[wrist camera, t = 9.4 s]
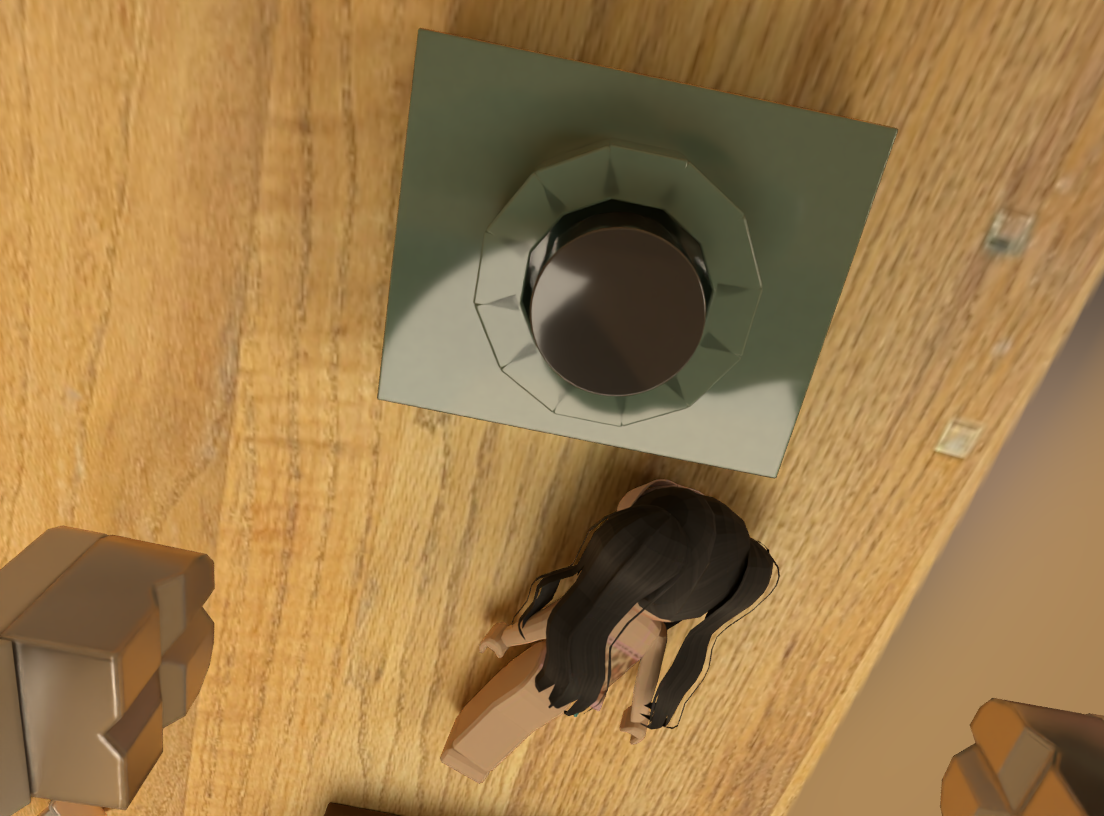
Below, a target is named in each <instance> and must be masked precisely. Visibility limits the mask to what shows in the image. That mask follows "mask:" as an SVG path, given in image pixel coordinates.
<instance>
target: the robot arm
mask: <svg viewBox="0 0 1104 816" xmlns="http://www.w3.org/2000/svg"><path fill="white" fill-rule="evenodd" d="M214 589H215V583H214V561H213V560H212V559H211V558H210V557H209V556H208V555H207V554H204V553H199V552H194V551H189V550H184V549H179V548H174V547H170V546H165V545H160V544H155V543H150V542H145V541H140V540H136V539H131V538H126V537H121V536H116V535H110V536H109V535H107V534H104V533H98V532H93V531H88V530H83V529H78V528H73V527H68V526H59V527H55V528H51V529H48V530H46V531H45V532H44V533H43V534H41V535H40V536H39V537H38V538H37V539H36V540H34V541H33V542H32V543H31V544H30V545H29V546H27V547H26V548H25V549H24V550H23V551H22V552H20V553H19V554H18V555H17V556H16V557H14V558H13V559H12V560H11V561H10V562H9V563H7V564H6V565H5V566H4V567H3V568H2V569H0V816H11V815H13V814H14V813H16V812H17V811H19V810H20V809H22V808H23V807H25V806H26V805H28V804H29V803H30V802H31V797H37V798H44V799H51V800H58V801H65V802H72V803H79V804H86V805H93V806H100V807H107V808H114V809H121V810H126V809H127V808H128V806H129V805H130V803H131V801H132V800H133V798H134V797H135V795H136V794H137V792H138V790H139V789H140V787H141V786H142V784H143V783H144V781H145V779H146V778H147V776H148V775H149V773H150V771H151V770H152V768H153V767H154V765H155V764H156V762H157V760H158V759H159V757H160V756H161V754H162V752H163V728H164V727H166V726H168V725H170V724H171V723H173V722H175V721H177V720H179V719H180V718H182V717H184V716H186V714H187V712H188V711H189V709H190V707H191V706H192V704H193V702H194V701H195V699H196V697H197V696H198V694H199V692H200V689H201V686H202V684H203V681H204V679H205V676H206V673H207V671H208V668H209V665H210V661H211V655H212V650H213V644H214V622H213V621H212V619H211V618H210V617H209V615H208V614H207V613H206V611H205V610H204V608H203V607H202V606H203V604H204V603H205V601H206V600H207V599H208V597H209V596H210V594H211V593H212V591H213V590H214ZM970 727H971V731H972V733H973V736H974V740H975V744H973V745H971V746H970V747H968V748H966V749H965V750H963V751H961V752H959V753H958V754H956V755H954V756H953V758H952V759H951V762H950V764H949V766H948V768H947V770H946V772H945V775H944V777H943V779H942V787H941V802H940V808H941V813H942V816H1104V716H1102V715H1096V714H1090V713H1089V714H1081V713H1076V712H1070V711H1064V710H1059V709H1053V708H1048V707H1042V706H1036V705H1030V704H1025V703H1019V702H1013V701H1007V700H1002V699H997V698H992V699H990V700H989V701H988V702H986V703H985V704H984V705H982V706H981V707H980V708H979V709H978V711H977V713H976V715H975V717H974V719H973V720H972V722H971V724H970Z"/></svg>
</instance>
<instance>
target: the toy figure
mask: <svg viewBox="0 0 1104 816" xmlns="http://www.w3.org/2000/svg"><path fill="white" fill-rule="evenodd" d="M648 487H653V488H650V489H647V488H648ZM646 489H647V490H646ZM607 518H608V519H607ZM605 519H607V520H606V521H605V522H604V523H603V524H602V525H601V526H600V527H599V528H598V529H597V530H596V531H595V533H594V534H593V536H592V538H591V540H590V542H589V544H588V545H587V547H586V549H585V551H584V553H583V555H582V557H581V558H580V560H579V562H578V564H577V565H574V566H572V565H573V564H574V562H575V560H576V558H577V556H578V554H579V552H580V550H581V548H582V546H581V548H580V550H579V552H578V554H577V556H576V558H575V560H574V562H573V563H572V564H571V565H570V566H568V567H566V568H563V569H559V570H556V571H552V572H550V573H547V574H544V575H541V576H539V577H538V578H536V580H535V581H537V580H538V579H540V578H543V577H544V578H543V579H542V580H541V581H540V582H539V584H538V585H537V588H536V592H535V596H534V600H533V602H532V603H531V605H530V606H529V607H528V608H527V610H526V611H525V612H524V614H523V615H522V616H521V617H520V619H519V621H518V622H516V623H514V624H512V625H510V626H509V625H508V624H506V623H504V622H499V623H496V624H495V625H494V626H493V627H492V628H491V630H490V631H489V632H488V634H487V635H486V636H485V637H484V639H483V640H482V641H481V643H480V645H479V650H480V653H483V652H484V651H485V650H486V648H487V647H489V648H490V649H491V650H493V651H494V652H496V655H497V656H498V657H499V658H501V657H502V656H503V655H504V653H505V652H506V651H507V649H508V648H509V647H510V646H516V645H521V644H527V643H530V642H534V641H538V640H542V639H546V641H540V642H537V643H536V644H534V645H533V646H532V647H530V648H529V649H527V650H526V651H525V652H523V653H522V654H520V655H519V656H518V657H516V658H515V659H513V660H512V661H511V662H509V663H508V665H507V666H506V667H503V668H502V669H501V670H500V671H499V672H498V673H497V674H496V675H495V676H494V677H493V678H492V679H491V680H490V681H489V682H488V683H487V684H486V685H485V686H484V687H483V688H482V689H481V690H480V691H479V692H478V693H477V694H476V695H475V696H474V697H473V698H472V699H471V700H470V701H469V702H468V703H467V704H466V705H465V706H464V708H463V710H462V711H461V712H460V714H459V715H458V716H457V718H456V720H455V722H454V725H453V727H452V730H451V732H450V734H449V737H448V739H447V742H446V744H445V747H444V749H443V752H442V754H441V757H440V760H441V762H442V763H444V764H446V765H447V766H449V767H451V768H453V769H454V770H456V771H458V772H460V773H461V774H463V775H465V776H467V777H468V778H470V779H472V780H474V781H475V782H477V783H479V784H480V783H483V781H484V780H485V779H486V777H487V776H488V775H489V772H490V771H492V770H493V769H494V768H496V767H497V766H498V765H499V764H500V763H501V762H502V761H503V760H504V759H505V758H506V757H507V756H508V755H509V754H510V753H511V752H512V751H513V750H514V749H515V748H517V747H518V746H519V745H520V744H521V743H522V742H523V741H524V740H525V739H526V738H527V737H528V736H529V735H530V734H531V733H532V732H534V731H535V730H537V729H539V728H540V727H542V726H543V725H545V724H547V723H548V722H550V721H552V720H553V719H555V718H556V717H558V716H560V715H561V714H562V713H563V712H564V714H566V715H568V716H571V715H574V717H577V715H578V714H579V713H580V712H583V711H584V710H585V709H587V708H588V707H589V706H590V707H592V708H591V709H595V710H597V711H600V709H601V706H602V704H603V701H604V699H605V697H606V692H607V691H608V687H609V686H610V685H612V684H613V683H614V682H615V681H616V680H617V679H619V678H620V677H621V676H622V675H623V674H624V673H625V672H627V671H628V670H629V669H630V668H631V667H632V666H633V665H634V664H636V663H637V662H638V661H639V660H640V663H639V668H638V673H637V677H636V682H635V687H634V692H633V701H632V706H630V707H628V708H627V709H626V710H625V711H624V712H623V716H622V720H621V724H620V731H623V732H627V733H630V734H631V739H630V743H631V744H637V743H639V742H640V741H642V740H643V739H644V737H645V735H646V730H647V728H649V729H658V728H661V727H662V726H663V727H664V726H666V725H667V724H668V723H669V721H670V719H671V718H672V716H673V714H674V712H675V710H676V709H677V707H678V705H679V703H680V701H681V700H682V698H683V696H684V695H685V693H686V692H687V691H688V690H689V689H690V688H691V686H692V685H693V684H694V683H695V682H696V680H697V678H698V676H699V674H700V673H701V671H702V668H703V665H704V661H705V657H706V652H707V646H708V644H709V641H710V638H711V635H712V634H713V633H714V632H715V631H716V630H717V629H718V628H720V627H721V626H722V625H723V624H724V623H726V622H727V621H729V620H730V619H732V618H733V617H735V616H736V615H738V614H739V613H740V612H742V611H743V610H745V609H746V608H748V607H749V606H751V605H752V604H753V603H754V602H755V601H756V600H757V599H758V598H759V597H760V596H761V595H762V594H763V593H764V591H765V590H766V588H767V586H768V584H769V582H770V578H771V575H772V568H773V562H774V563H775V565H776V566H777V569H778V580H779V577H780V574H779V567H778V565H777V564H776V562H775V561H774V559H773V558H772V557H771V555H770V554H769V549H767V550H766V549H765V548H764V547H763V546H761V545H760V544H759V543H761V542H759V541H756V540H754V539H752V538H750V536H749V533H748V531H747V528H746V526H745V523H744V521H743V520H742V519H741V518H740V517H739V516H738V515H736V514H735V513H734V512H733V511H732V510H731V509H730V508H728V507H727V506H726V505H725V504H723V503H722V502H720V501H718V500H717V499H715V498H713V497H709V496H706V495H704V494H702V493H701V492H699V491H697V490H695V489H692V488H686V487H684V486H681V485H678V484H676V483H674V482H672V481H670V480H665V479H659V480H654V481H652V482H649V483H647V484H645V485H642V486H640V487H637V488H634V489H633V490H631V491H629V492H628V493H627V494H626V495H625V496H624V497H623V498H622V499H621V501H620V503H619V505H618V508H617V512H614V513H612V514H610V515H608V516H606V517H604V518H603V519H602V520H600V521H599V522H598V523H597V524H595V525H594V526H593V527H592V528H591V529H590V530H589V531H588V533H589V532H590V531H591V530H592V529H594V528H595V527H596V526H597V525H599V524H600V523H601V522H602V521H604V520H605ZM588 533H587V535H588ZM587 535H586V537H587ZM586 537H585V539H586ZM585 539H584V541H585ZM584 541H583V543H584ZM758 542H759V543H758ZM582 545H583V544H582ZM581 570H582V571H581ZM580 571H581V573H580V575H579V577H578V579H577V580H576V582H575V583H574V584H573V586H572V587H571V588H570V589H569V590H568V591H567V593H566V594H565V595H564V596H562V597H561V598H560V599H558V600H557V601H555V602H554V603H552V604H551V605H549V606H548V607H546V608H545V609H542V608H543V607H544V606H545V605H547V604H548V603H549V602H550V601H551V600H552V599H553V596H554V594H555V592H556V590H557V588H558V585H559V582H560V580H561V579H564V578H568V577H571V576H573V575H575V574H576V573H577V572H578V574H579V572H580ZM577 576H578V575H577ZM778 580H777V583H778ZM535 581H534V582H535ZM534 582H533V583H532V585H533V584H534ZM777 583H776V586H777ZM532 585H531V587H532ZM776 586H775V587H776ZM541 587H542V589H541V592H540V595H539V596H538V597H537V595H538V592H539V589H540V588H541ZM775 587H774V589H775ZM774 589H773V590H774ZM773 590H772V591H773ZM530 591H531V588H530ZM772 591H771V593H772ZM771 593H770V594H771ZM529 594H530V592H529ZM770 594H769V595H770ZM769 595H768V596H769ZM768 596H767V597H768ZM528 597H529V595H528ZM767 597H766V598H767ZM536 598H537V599H536ZM766 598H765V599H766ZM765 599H764V600H765ZM527 601H528V599H527ZM527 601H526V602H527ZM526 602H525V603H524V605H525V604H526ZM760 603H761V602H760ZM760 603H759V604H760ZM759 604H758V605H759ZM524 605H523V606H524ZM758 605H757V606H758ZM523 606H522V607H523ZM757 606H756V607H757ZM522 607H521V609H522ZM756 607H755V608H756ZM755 608H754V609H755ZM521 609H520V610H521ZM541 609H542V610H541ZM754 609H753V610H754ZM520 610H519V611H520ZM753 610H752V611H753ZM519 611H518V612H519ZM518 612H517V614H518ZM706 612H708V613H707V614H706V617H705V620H703V621H702V622H701V623H700V624H698V625H697V626H696V627H694V628H693V629H692V630H690V632H689V633H688V635H687V636H686V638H685V640H684V642H683V644H682V646H681V648H680V650H679V652H678V654H677V656H676V658H675V660H674V662H673V664H672V666H671V668H670V669H669V671H668V672H667V674H666V675H665V677H664V678H663V680H662V681H661V683H660V684H659V687H658V689H657V692H656V694H655V697H654V700H653V703H651V701H652V698H653V695H654V691H655V688H656V685H657V682H658V678H659V674H660V669H661V665H662V661H663V656H664V652H665V648H666V643H667V629H669V628H671V627H672V626H674V625H676V624H678V623H679V622H680V621H682V620H686V619H692V618H698V617H701V616H702V615H704V614H705V613H706ZM750 612H751V611H750ZM750 612H749V613H750ZM517 614H516V615H517ZM747 614H748V613H747ZM747 614H746V615H747ZM516 615H515V616H516ZM515 616H514V617H515ZM744 616H745V615H744ZM744 616H743V617H744ZM741 618H742V617H741ZM741 618H740V619H741ZM740 619H738V620H740ZM513 620H514V618H513ZM738 620H737V621H738ZM737 621H735V622H737ZM512 622H513V621H512ZM735 622H734V623H735ZM734 623H732V624H734ZM732 624H731V625H732ZM731 625H729V626H731ZM729 626H728V627H729ZM728 627H727V628H728ZM727 628H726V629H727ZM726 629H724V630H726ZM724 630H723V631H724ZM723 631H722V632H723ZM722 632H721V633H722ZM721 633H720V634H721ZM720 634H719V635H720ZM719 635H718V636H719ZM718 636H717V637H718ZM717 637H716V639H717ZM715 642H716V640H715ZM715 642H714V644H715ZM714 644H713V646H714ZM712 649H713V647H712ZM711 655H712V650H711ZM710 661H711V656H710ZM709 667H710V662H709ZM708 669H709V668H708ZM707 671H708V670H707ZM706 674H707V672H706ZM706 674H705V676H706ZM705 676H704V678H705ZM704 678H703V680H704ZM703 680H702V681H703ZM702 681H701V682H702ZM700 684H701V683H700ZM700 684H699V685H700ZM699 685H698V686H699ZM697 688H698V687H697ZM697 688H696V689H697ZM696 689H695V690H696ZM695 690H694V692H695ZM694 692H693V693H694ZM693 693H692V694H693ZM658 694H659V695H658ZM692 694H691V696H692ZM657 696H658V699H657V702H656V703H655V701H656V698H657ZM691 696H690V697H691ZM690 697H689V698H690ZM689 698H688V700H689ZM577 699H578V700H577ZM575 700H577V701H576V702H575V703H574V705H573V706H572V707H571V708H570V709H569V710H568V711H565V710H566V709H567V708H568V707H569V705H570V704H571V702H573V701H575ZM688 700H687V701H688ZM687 701H686V702H687ZM686 702H685V703H686ZM684 707H685V704H684ZM684 707H683V710H684ZM649 708H650V709H651V712H649ZM591 709H590V710H591ZM683 710H682V713H683ZM587 712H588V711H587ZM653 712H654V713H653ZM682 713H681V716H682ZM667 715H668V716H667ZM681 716H680V719H681ZM666 717H667V718H666ZM680 719H679V721H680ZM649 720H650V722H651V721H652V722H651V723H649V725H648V721H649ZM678 724H679V722H678ZM647 725H648V726H647ZM677 726H678V725H677ZM677 726H675V727H677ZM675 727H667V728H671V729H673V728H675Z"/></svg>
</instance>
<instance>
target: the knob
mask: <svg viewBox="0 0 1104 816" xmlns="http://www.w3.org/2000/svg"><path fill="white" fill-rule="evenodd" d="M705 321H706V299H705V294H704V290H703V286H702V283H701V281H700V278H699V276H698V273H697V271H696V269H695V267H694V264H693V262H692V260H691V258H690V256H689V254H688V252H687V250H686V248H685V247H684V245H683V244H682V243H681V241H680V240H679V239H678V238H677V237H676V236H675V235H674V233H673V232H671V231H670V230H669V229H668V228H666V227H665V226H664V225H662V224H661V223H659V222H657V221H656V220H654V219H651V218H649V217H647V216H644V215H640V214H637V213H631V212H624V211H612V212H604V213H599V214H595V215H592V216H589V217H587V218H584V219H582V220H580V221H578V222H576V223H575V224H573V225H571V226H570V227H569V228H567V229H566V230H565V231H563V232H562V233H561V234H560V235H559V236H558V237H557V238H556V239H555V241H554V242H553V243H552V245H551V246H550V247H549V249H548V251H547V252H546V254H545V256H544V258H543V260H542V263H541V265H540V268H539V271H538V275H537V278H536V281H535V284H534V288H533V292H532V295H531V301H530V324H531V331H532V334H533V338H534V341H535V343H536V345H537V348H538V350H539V352H540V353H541V355H542V357H543V358H544V360H545V361H546V362H547V364H548V365H549V366H550V367H551V369H552V370H553V371H555V372H556V373H557V374H558V375H559V376H560V377H561V378H563V379H564V380H565V381H567V382H568V383H570V384H572V385H574V386H575V387H577V388H579V389H582V390H584V391H587V392H590V393H594V394H598V395H604V396H630V395H635V394H639V393H643V392H646V391H649V390H652V389H654V388H656V387H658V386H660V385H662V384H664V383H665V382H667V381H668V380H670V379H671V378H673V377H674V376H675V375H676V374H677V373H678V372H679V371H681V370H682V368H683V367H684V366H685V365H686V364H687V363H688V362H689V360H690V359H691V357H692V356H693V354H694V353H695V351H696V349H697V347H698V345H699V343H700V340H701V337H702V335H703V331H704V326H705Z"/></svg>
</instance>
